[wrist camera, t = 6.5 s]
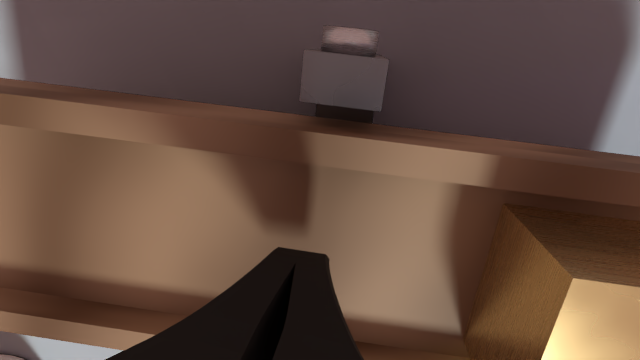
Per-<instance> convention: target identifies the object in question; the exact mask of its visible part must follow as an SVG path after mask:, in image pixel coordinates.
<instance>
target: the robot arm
mask: <svg viewBox="0 0 640 360" xmlns="http://www.w3.org/2000/svg"><path fill="white" fill-rule="evenodd" d="M106 360H364V359H363V357H362V355H361V353H360V351H359V349H358V347H357V345H356V343H355V341H354V339H353V337H352V335H351V332H350V330H349V328H348V325H347V323H346V321H345V318H344V316H343V313H342V311H341V308H340V305H339V302H338V299H337V296H336V293H335V290H334V286H333V282H332V278H331V273H330V267H329V258H328V256H327V255H326V254H322V253H315V252H308V251H302V250H295V249H289V248H282V247H277V248H276V249H274V250H273V251H272V252H271V253H270V254H269V255H267V256H266V257H265V258H264V259H263V260H262V261H261V262H260V263H258V264H257V265H256V266H255V267H254V268H253V269H251V270H250V271H249V272H248V273H247V274H245V275H244V276H243V277H242V278H240V279H239V280H238V281H237V282H236V283H234V284H233V285H232V286H231V287H229V288H228V289H227V290H225V291H224V292H223V293H221V294H220V295H218V296H217V297H216V298H214V299H213V300H211V301H210V302H208V303H207V304H206V305H204V306H203V307H201V308H200V309H199V310H197V311H195V312H194V313H192V314H191V315H189V316H188V317H186V318H185V319H183V320H181V321H179V322H178V323H176V324H174V325H173V326H171V327H169V328H167V329H166V330H164V331H162V332H160V333H158V334H157V335H155V336H153V337H151V338H149V339H147V340H145V341H143V342H141V343H138V344H136V345H134V346H132V347H130V348H128V349H126V350H124V351H122V352H120V353H118V354H116V355H114V356H112V357H110V358H108V359H106Z"/></svg>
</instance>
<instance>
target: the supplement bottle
mask: <svg viewBox="0 0 640 360" xmlns="http://www.w3.org/2000/svg"><path fill="white" fill-rule="evenodd" d="M0 360H24V359H22V358H19V357H16V356H12V355H3V354H0Z"/></svg>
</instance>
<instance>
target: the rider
mask: <svg viewBox="0 0 640 360" xmlns="http://www.w3.org/2000/svg"><path fill="white" fill-rule="evenodd" d="M463 341H464V344H465V346H466V349H467V352H468V355H469V357H470V360H640V221H636V220H628V219H621V218H613V217H606V216H598V215H590V214H583V213H575V212H567V211H560V210H552V209H545V208H537V207H529V206H522V205H514V204H506V203H503V205H502V208H501V212H500V215H499V218H498V222H497V225H496V228H495V232H494V235H493V239H492V242H491V245H490V249H489V252H488V256H487V259H486V262H485V266H484V269H483V272H482V276H481V279H480V283H479V286H478V289H477V293H476V296H475V300H474V303H473V306H472V310H471V313H470V316H469V320H468V323H467V327H466V330H465V333H464V337H463Z"/></svg>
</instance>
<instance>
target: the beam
mask: <svg viewBox="0 0 640 360" xmlns="http://www.w3.org/2000/svg"><path fill="white" fill-rule="evenodd" d="M503 203H506V204H514V205H522V206H529V207H537V208H545V209H552V210H560V211H567V212H575V213H583V214H590V215H598V216H606V217H613V218H621V219H628V220H636V221H640V157H639V156H631V155H623V154H615V153H607V152H599V151H590V150H582V149H574V148H566V147H558V146H550V145H542V144H533V143H525V142H517V141H509V140H501V139H493V138H485V137H477V136H468V135H460V134H452V133H444V132H436V131H428V130H420V129H412V128H403V127H395V126H387V125H379V124H371V123H363V122H355V121H347V120H338V119H330V118H322V117H314V116H306V115H298V114H290V113H281V112H273V111H265V110H257V109H249V108H241V107H233V106H225V105H216V104H208V103H200V102H192V101H184V100H176V99H168V98H159V97H151V96H143V95H135V94H127V93H119V92H111V91H103V90H94V89H86V88H78V87H70V86H62V85H54V84H46V83H38V82H29V81H21V80H13V79H5V78H0V331H4V332H10V333H17V334H23V335H30V336H36V337H42V338H49V339H55V340H61V341H68V342H74V343H80V344H87V345H93V346H100V347H106V348H112V349H119V350H126V349H128V348H130V347H132V346H134V345H136V344H138V343H141V342H143V341H145V340H147V339H149V338H151V337H153V336H155V335H157V334H158V333H160V332H162V331H164V330H166V329H167V328H169V327H171V326H173V325H174V324H176V323H178V322H179V321H181V320H183V319H185V318H186V317H188V316H189V315H191V314H192V313H194V312H195V311H197V310H199V309H200V308H201V307H203V306H204V305H206V304H207V303H208V302H210V301H211V300H213V299H214V298H216V297H217V296H218V295H220V294H221V293H223V292H224V291H225V290H227V289H228V288H229V287H231V286H232V285H233V284H234V283H236V282H237V281H238V280H239V279H240V278H242V277H243V276H244V275H245V274H247V273H248V272H249V271H250V270H251V269H253V268H254V267H255V266H256V265H257V264H258V263H260V262H261V261H262V260H263V259H264V258H265V257H266V256H267V255H269V254H270V253H271V252H272V251H273V250H274V249H276V248H277V247H282V248H289V249H295V250H302V251H308V252H315V253H322V254H326V255H327V256H328V258H329V267H330V273H331V278H332V282H333V286H334V290H335V293H336V296H337V299H338V302H339V305H340V308H341V311H342V313H343V316H344V318H345V321H346V323H347V325H348V328H349V330H350V332H351V335H352V337H353V339H354V341H355V343H356V345H357V347H358V349H359V351H360V353H361V355H362V357H363V359H364V360H470V357H469V355H468V352H467V349H466V346H465V344H464V341H463V337H464V333H465V330H466V327H467V323H468V320H469V316H470V313H471V310H472V306H473V303H474V300H475V296H476V293H477V289H478V286H479V283H480V279H481V276H482V272H483V269H484V266H485V262H486V259H487V256H488V252H489V249H490V245H491V242H492V239H493V235H494V232H495V228H496V225H497V222H498V218H499V215H500V212H501V208H502V205H503Z"/></svg>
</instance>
